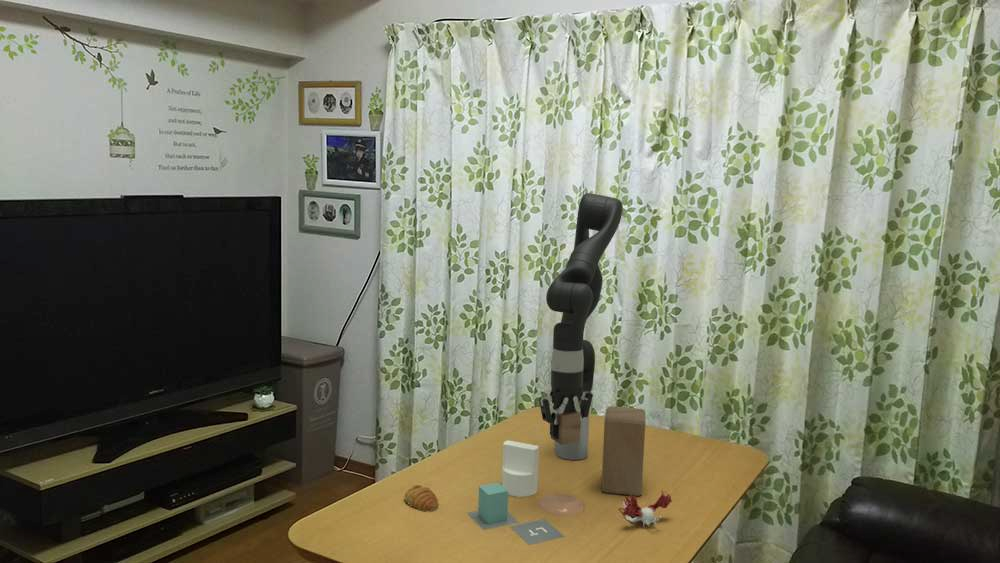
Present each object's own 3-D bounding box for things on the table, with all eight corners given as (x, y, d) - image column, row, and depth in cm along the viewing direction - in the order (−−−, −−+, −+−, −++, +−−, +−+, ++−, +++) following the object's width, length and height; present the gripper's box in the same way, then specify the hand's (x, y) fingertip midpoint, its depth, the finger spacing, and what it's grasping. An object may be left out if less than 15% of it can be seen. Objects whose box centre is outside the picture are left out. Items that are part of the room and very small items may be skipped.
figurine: (649, 504, 175) (650, 478, 174) (683, 525, 165) (684, 497, 164) (599, 517, 168) (601, 490, 167) (632, 539, 158) (633, 511, 157)
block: (641, 497, 179) (645, 420, 176) (601, 493, 180) (604, 417, 178) (641, 481, 188) (645, 408, 185) (603, 477, 190) (606, 404, 187)
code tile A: (509, 528, 161) (509, 526, 161) (544, 520, 165) (544, 518, 165) (528, 546, 153) (528, 544, 153) (564, 538, 157) (564, 536, 157)
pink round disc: (530, 501, 175) (530, 498, 175) (568, 493, 180) (568, 491, 180) (553, 520, 165) (553, 518, 165) (593, 511, 170) (593, 509, 170)
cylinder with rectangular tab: (542, 487, 183) (544, 442, 182) (529, 501, 175) (530, 454, 173) (510, 480, 187) (511, 436, 185) (495, 493, 179) (497, 447, 177)
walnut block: (550, 437, 171) (551, 409, 170) (568, 434, 174) (569, 407, 173) (561, 444, 167) (562, 415, 166) (579, 441, 169) (580, 413, 168)
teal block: (478, 514, 167) (478, 486, 166) (497, 510, 169) (498, 482, 168) (487, 524, 162) (488, 494, 161) (507, 519, 164) (508, 490, 163)
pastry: (445, 509, 170) (445, 494, 170) (421, 517, 166) (421, 502, 165) (424, 495, 177) (425, 480, 177) (401, 502, 173) (401, 487, 173)
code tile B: (466, 514, 167) (466, 512, 167) (501, 507, 172) (501, 505, 171) (483, 531, 160) (483, 529, 159) (519, 523, 164) (519, 521, 164)
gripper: (584, 360, 174) (581, 427, 177) (532, 366, 168) (530, 435, 170) (601, 367, 168) (598, 437, 170) (549, 374, 161) (546, 446, 164)
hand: (564, 436), depth 170 cm, fingers closed on walnut block, 5 cm apart
